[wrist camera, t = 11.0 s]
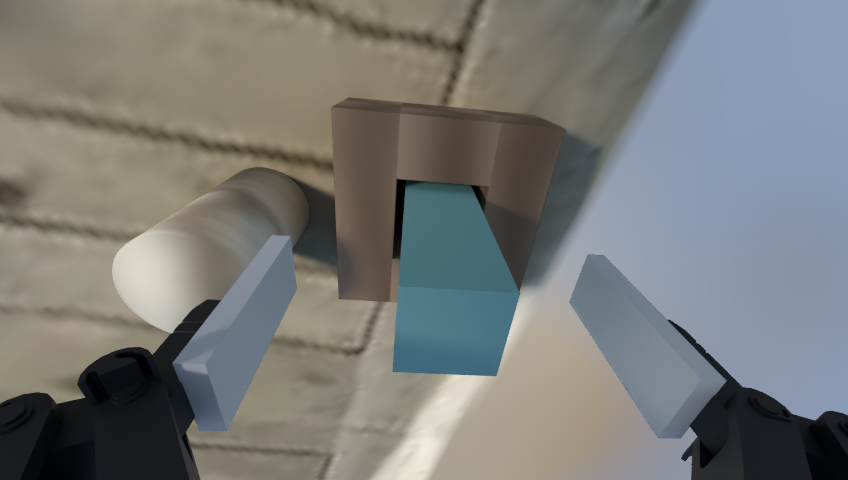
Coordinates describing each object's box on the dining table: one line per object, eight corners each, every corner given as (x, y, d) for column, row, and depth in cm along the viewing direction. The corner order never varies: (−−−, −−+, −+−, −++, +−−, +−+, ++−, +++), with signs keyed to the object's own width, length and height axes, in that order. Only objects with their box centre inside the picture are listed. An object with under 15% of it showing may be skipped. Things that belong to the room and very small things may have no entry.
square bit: (403, 217, 25) (392, 371, 12) (407, 165, 23) (398, 286, 11) (456, 221, 25) (496, 376, 13) (463, 170, 23) (520, 293, 11)
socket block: (351, 259, 26) (338, 298, 22) (348, 97, 21) (331, 107, 16) (498, 268, 27) (514, 308, 23) (534, 115, 21) (565, 129, 17)
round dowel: (233, 240, 25) (137, 335, 17) (217, 163, 22) (90, 229, 14) (312, 245, 26) (259, 341, 17) (306, 170, 23) (239, 239, 14)
